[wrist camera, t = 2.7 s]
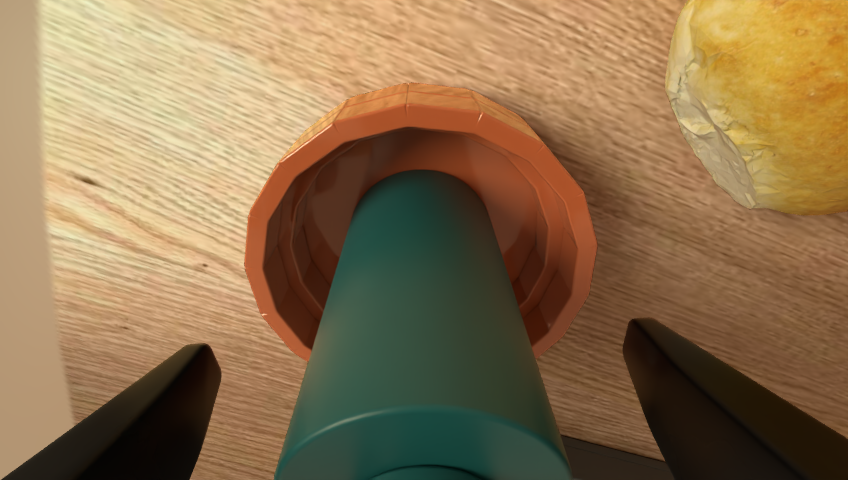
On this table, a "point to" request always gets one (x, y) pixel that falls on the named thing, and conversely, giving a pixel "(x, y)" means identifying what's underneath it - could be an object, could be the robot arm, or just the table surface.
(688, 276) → the table surface
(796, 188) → the bread roll
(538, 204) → the bowl
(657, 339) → the robot arm
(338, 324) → the bottle
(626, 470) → the tray
